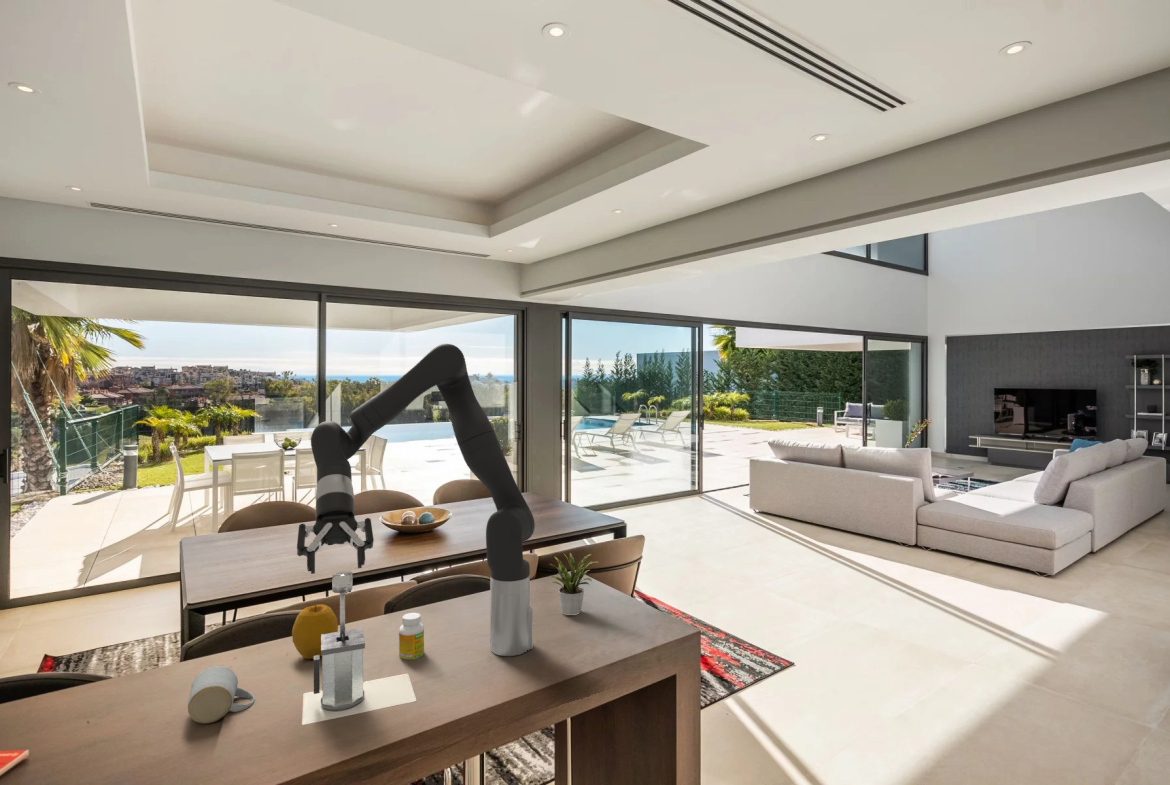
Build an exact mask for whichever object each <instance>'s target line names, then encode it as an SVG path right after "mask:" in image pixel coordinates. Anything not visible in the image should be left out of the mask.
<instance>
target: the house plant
mask: <svg viewBox="0 0 1170 785" xmlns="http://www.w3.org/2000/svg"><path fill="white" fill-rule="evenodd" d="M562 553H563V555H564V557H566V559H567V561H568V565H569V572H570V573H569V572H568V570H567V567H566V566H565V564H564V563H563V562H562V561H561V560H560V559H559V558H558V557H556V556H554V558H555V560H556V561H557V563H558V567H556V566H555V565H554V564H552V563H550V565H551V566H553V567H555V568H556V569H557V570H558V573H556V575H557V576H556V575H551V577H552V578H555V579H556V580H558V581H559V582H558V581H552V582H551V584H555V585H556V584H557V585H559V586H561V587H559V588H558V597H559V603H560V610H561V614H562V613H564V614H577V613H580V612H581V613H582V606H583V599H584V594H585V588H583V587H581V586H580V585H589V586H590V583H589V582H587V581H590V582H591V583H593V582H592V578H590V577H585V578H583V577H584V576H585V575H586V574H587V573H588V572H589V571H590V569H587V570H586V568H587V567H588V566H590V565H591V564H594V563H596V564H597V563H598V561H593V560H591V561H588V562H587V563H584V562H585V561H586V560H587V558H588V557H589V556H592V553H590V554H587V555H585V556H584V557H583V558H582V559H581V560H580V561H579V562H578V563H577V566H576V563H575V558H574V556H573V555H572V553H571V552H569V556H568V555H566V554H565V552H562ZM575 566H576V567H575ZM575 568H576V569H575ZM558 575H559V576H560V577H558ZM560 582H561V583H562V584H561V583H560ZM581 613H580V614H581Z"/></svg>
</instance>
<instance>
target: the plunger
mask: <svg viewBox="0 0 1170 785" xmlns="http://www.w3.org/2000/svg"><path fill="white" fill-rule="evenodd" d="M331 578H332V579H331V582H332V583H331V584H332V586H331V588H332V593H334V594H339V632H340V641H345V631H346V593H349V592H350V591H352V590H353V572H352V571H346V570H345V571H338V572H335V573H333V574H332V575H331Z"/></svg>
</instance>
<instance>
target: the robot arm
mask: <svg viewBox="0 0 1170 785" xmlns="http://www.w3.org/2000/svg"><path fill="white" fill-rule="evenodd" d="M470 380H471V379H470V377H469V373H468V368H467V363H466V358H465V355H464V353H463V352H462V349H460V348H459V347H458V346H456V345H454V344H452V343H442V344H441V343H440V344H439V345H436V346H435V347H433V348H432V349H430V351H429V352H428V353H426V354H425V355H424V356H423V357H422V358H421V359H420V360H419V361H418V362H417V363H416V364H415V365H414V366H413V367H411V368H410V369H409V370H408V371H407V372H406V373H404V374H403V375H402V376H401V377H400V378H397V380H395V381H394V382H393V383H392V384H390V385H389V386H387V387H385V388H384V389H383V390H382V391H381V392H379V393H377V394H375V395H374V396H372V397H371V398H369V399H368V400H367V401H365V402H363V403H362V404H361V405H358V407H356V408H355V409H354V410H352V411H351V412H350V414H349V418H350V421H351V423H352V426H351V427H350V428H349V429H348V430H347V431H346V430H345V429H344V428H343V427H342V426H341V425H340V424H338V423H337V422H335V421H333V420H327V421H326V420H325V421H322V422H320V423H319V424H317V426H316V427H314V429H313V431H312V434H311V438H310V447H311V452H312V455H313V459H314V463H315V465H316V470H317V472H316V475H317V476H316V482H317V483H316V489H315V490H316V492H315V523H314V525H306V524H305V523H300V524H299V525H298V532H297V533H298V534H297V543H296V556H298V557H302V556H303V557H306V570H307V571H308V572H310V574H311V575H313V574H315V573H316V554H317V552H319V551H321V549H322V548H323V547H324V546H325V545H327V546H333V545H336V544H337V545H344V544H345V543H347V544H348V545H349V546H351V547H352V548H354V549H355V550H356V559H357V560H356V561H357V569H362V567H363V566H365V563H366V551H367V550H369V549H372V548H373V547H374V541H375V540H374V539H375V538H374V532H373V526H372V519H371V518H370V517H367V518H365V519H364V520H362V521H357V520H356V517H355V498H354V497H355V493H354V488H353V487H354V486H353V480H352V467H351V464H350V461H349V460H350V459H351V458H352V457H354V455H355V454H356V453H357V452H358V451H359V450H360V448H362V447H363V445H364V444H366V442H367V441H368V440H369V438H370V437H371V436H372V435H373V434H374V433H376V432H377V431H378V430H380V429H382V428H383V427H384V426H386V425H388V424H389V423H390V422H392V421H393V420H395V419H396V418H397V417H398V416H399V415H400V414H401V413H402V412H403V411H405V409H406V408H408V406H410V405H411V404H412V403H413V402H414V401H415V400H416V399H417V398H418V397H420V396H421V395H423V394H424V393H425V392H426V391H428V390H430V389H432V388H433V387H435V386H436V387H437V389H438V391H439V393H440V395H441V397H442V399H443V400H444V403H445V404H446V407H447V410H448V413H449V417H450V421H451V426H452V429H453V433H454V436H455V439H456V443H457V446H458V448H459V450H460V453H461V455H462V458H463V460H464V463H465V464H466V466H467V467H468V469H469V470H470V471H471V472H472V473H473V475H474V476H475V477H476V479H478V480H479V481H480V483H482V485H484V487H485V488H486V489H487V491H488V493H489V494H490V496H491V498H492V500H493V503H494V505H495V508H496V511H495V512H493V513H492V514H491V515H490V516H489V518H488V520H487V523H486V529H485V546H486V547H485V548H486V561H487V566H488V569H489V572H490V576H489V577H490V579H489V580H490V584H489V585H490V586H489V588H490V591H489V592H490V596H489V597H490V598H489V600H490V603H489V604H490V605H489V606H490V611H489V612H490V614H489V616H490V619H489V620H490V633H489V634H490V639H489V642H490V651H491V652H492V653H493V654H494V655H497V656H501V657H502V656H503V657H513V656H519V655H522V654H525V653H526V652H527V650H528V651H531V650H533V646H534V645H533V644H534V643H533V641H534V638H533V636H534V630H533V629H534V628H533V626H534V624H533V620H534V619H533V617H534V616H533V615H534V614H533V613H534V610H533V608H532V607H531V598H530V597H531V592H530V591H531V590H530V588H531V581H530V580H531V578H530V576H531V568H530V567H531V566H530V563H529V562H528V560H526V559H525V558H524V554H523V553H524V552H523V551H524V550H523V548H524V547H523V544H524V542H526V541H528V540H529V539H530V538H532V535H533V534H534V531H535V526H536V524H535V519H534V515H533V513H532V511H531V509H530V507H529V505H528V503H527V502H526V500H525V497H524V496H523V494H522V492H521V490H520V488H519V487H518V484H517V483H516V481H515V478H514V476H513V473H512V471H511V468H510V466H509V463H508V461H507V459H506V457H505V454H504V452H503V450H502V447H501V444H500V441H499V438H498V437H497V434H496V432H495V430H494V428H493V425H492V423H491V421H490V419H489V417H488V416H487V414H486V412H485V411H484V409H483V408H482V406H481V405H480V402H479V401H478V398H477V397H476V395H475V392H474V390H473V387H472V382H471V381H470ZM358 529H360V531H361V532H362V533H364V537H365V540H362V538H361V537H359V536H358V533H356V531H357V530H358ZM312 533H313V534H314V535H315V537H314V539H313V540H312V541H311V543H310V544H309V545H308V546H306V538H308V537H309V536H310V534H312ZM530 649H531V650H530ZM524 652H525V653H524Z"/></svg>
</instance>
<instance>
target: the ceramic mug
mask: <svg viewBox="0 0 1170 785" xmlns="http://www.w3.org/2000/svg"><path fill="white" fill-rule="evenodd" d="M238 681H239V680H238V676H237V675H236V673H235V671H233V669H231V668H229V667H227V666H224V665H216V666H211V667H208V668H205V669H204V670H202V671H201V672H199V673H198V675H196V677H195V678H194V680H193V682H192V684H191V688H190V693H189V697H188V701H187V710H188V711H187V713H188V715H189V717H190V719H192V720H193V721H195V723H198V724H206V725H207V724H212V723H214V722H217V721H220V720H221V719H222V718H224V717H225V716H226V715H227V714H228V712H234V713H237V712H240V711H243V710H246V709H248V708H249V707H250V706H252V705H253V704H254V703H255V701H256V700H255V699H256V698H255V696H254V694H253V693H251V692H250V691H248V690H246V689H244V688H241V687H238V686H239V685H238V684H239V682H238ZM235 697H237V698H243V699H250V702H249V703H245V704H243V703H234V701H235Z"/></svg>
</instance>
